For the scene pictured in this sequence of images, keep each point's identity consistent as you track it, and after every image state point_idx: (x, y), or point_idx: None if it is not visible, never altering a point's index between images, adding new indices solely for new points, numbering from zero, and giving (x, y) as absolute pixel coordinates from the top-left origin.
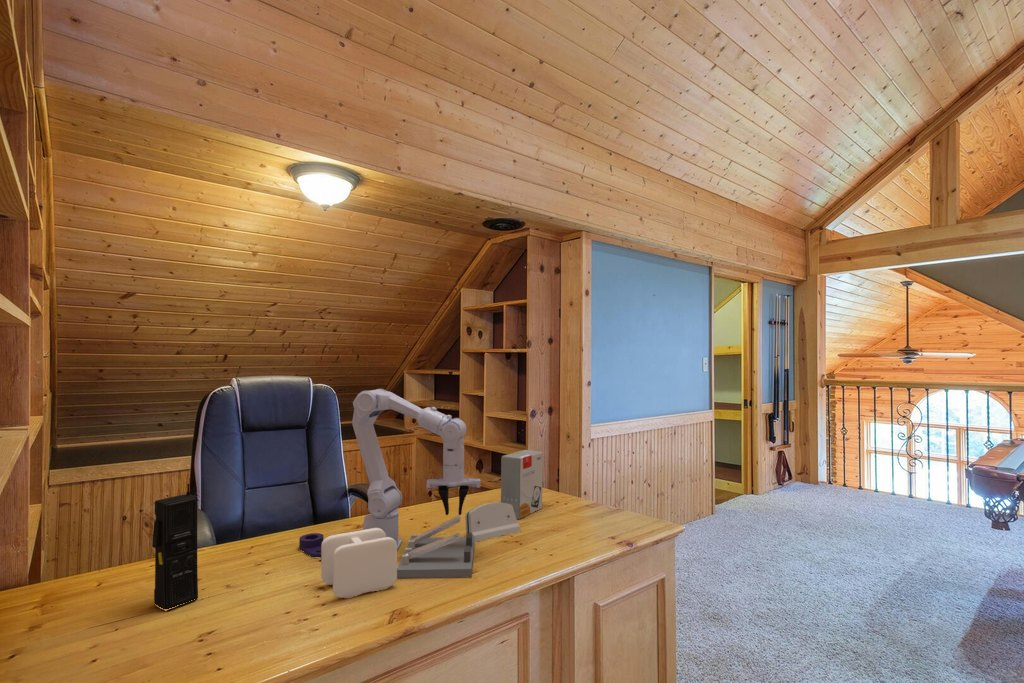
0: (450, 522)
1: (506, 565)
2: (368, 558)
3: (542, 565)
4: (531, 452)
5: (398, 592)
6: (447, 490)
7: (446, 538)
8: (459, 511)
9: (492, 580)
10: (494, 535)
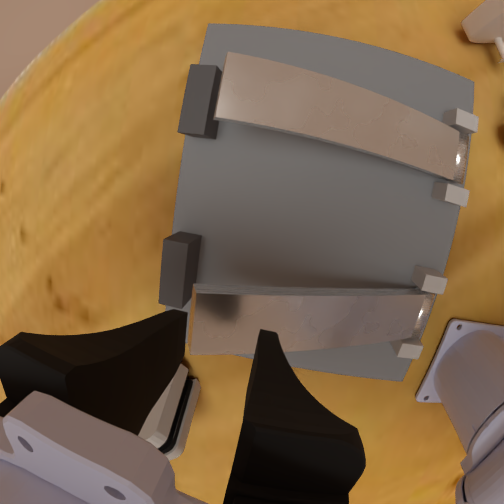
0: (251, 294)
1: (96, 117)
2: None
3: (25, 116)
4: None
5: (440, 2)
6: (230, 475)
7: (295, 107)
8: (172, 315)
9: (157, 15)
10: None
